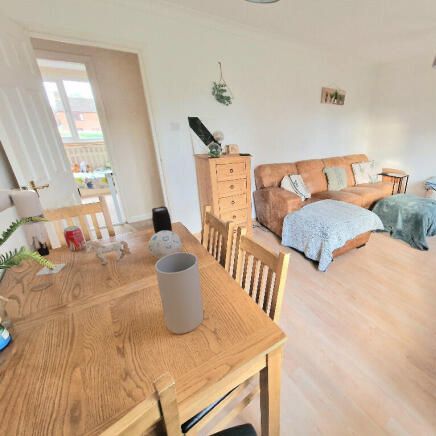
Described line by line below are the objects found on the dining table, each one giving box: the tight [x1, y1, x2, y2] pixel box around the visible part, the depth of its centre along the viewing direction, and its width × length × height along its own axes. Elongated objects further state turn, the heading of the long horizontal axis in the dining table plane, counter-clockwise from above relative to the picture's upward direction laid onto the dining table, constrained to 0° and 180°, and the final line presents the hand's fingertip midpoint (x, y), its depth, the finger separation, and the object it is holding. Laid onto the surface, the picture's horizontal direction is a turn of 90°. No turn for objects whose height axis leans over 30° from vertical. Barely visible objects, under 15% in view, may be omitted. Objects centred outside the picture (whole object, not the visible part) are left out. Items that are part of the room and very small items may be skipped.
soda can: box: [62, 225, 86, 252], centre depth 125 cm, size 7×7×12 cm
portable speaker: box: [151, 206, 173, 234], centre depth 139 cm, size 9×9×20 cm
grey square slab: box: [35, 262, 67, 276], centre depth 110 cm, size 8×8×2 cm
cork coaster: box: [30, 280, 52, 292], centre depth 99 cm, size 6×6×1 cm
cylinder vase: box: [154, 251, 205, 335], centre depth 82 cm, size 12×12×25 cm
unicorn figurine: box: [79, 239, 132, 265], centre depth 115 cm, size 7×20×13 cm, turn 142°
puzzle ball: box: [147, 230, 183, 260], centre depth 121 cm, size 15×15×15 cm
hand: (44, 254), depth 110 cm, fingers closed
